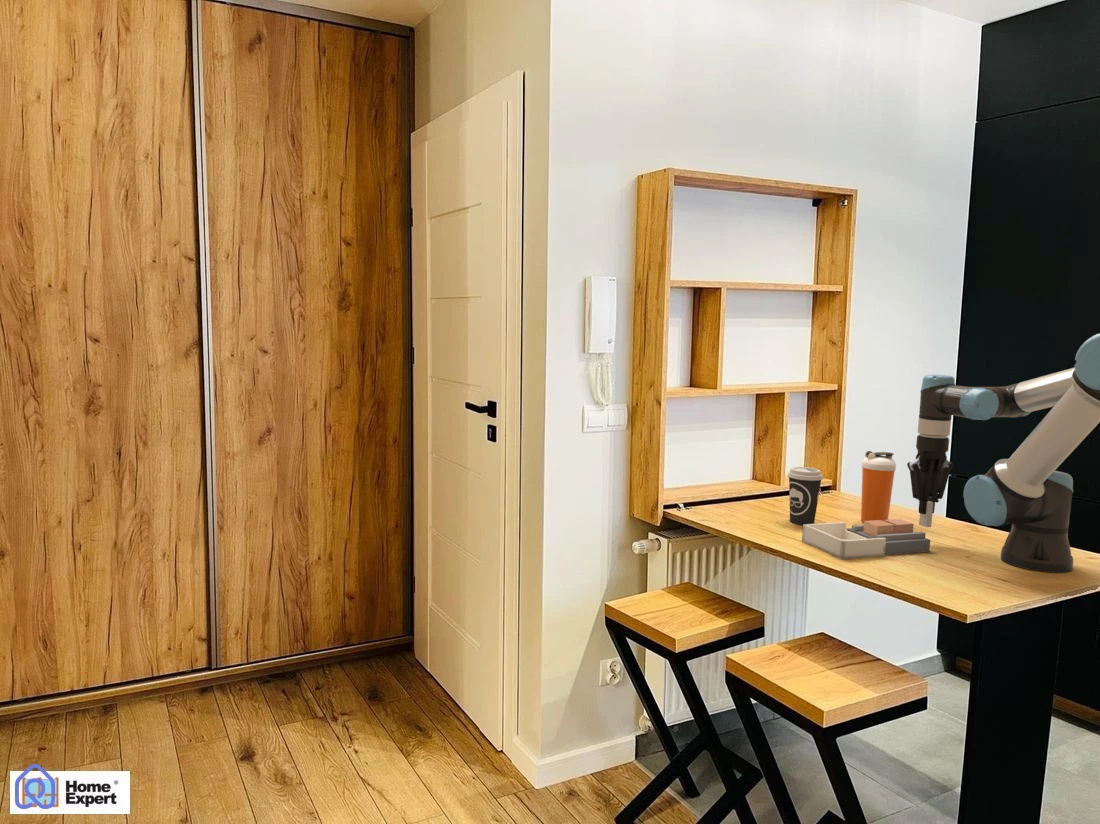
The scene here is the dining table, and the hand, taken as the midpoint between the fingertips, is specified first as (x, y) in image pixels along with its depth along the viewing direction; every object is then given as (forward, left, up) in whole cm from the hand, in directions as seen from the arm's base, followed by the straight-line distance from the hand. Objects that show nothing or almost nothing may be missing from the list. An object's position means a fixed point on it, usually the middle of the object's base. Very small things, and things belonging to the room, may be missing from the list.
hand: (925, 525), depth 219 cm
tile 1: (0, +14, -2) cm, 15 cm away
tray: (0, +25, -5) cm, 25 cm away
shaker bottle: (+21, -2, -5) cm, 21 cm away
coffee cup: (+25, +19, -5) cm, 32 cm away
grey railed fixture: (0, +11, -5) cm, 12 cm away
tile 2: (0, +8, -2) cm, 9 cm away
